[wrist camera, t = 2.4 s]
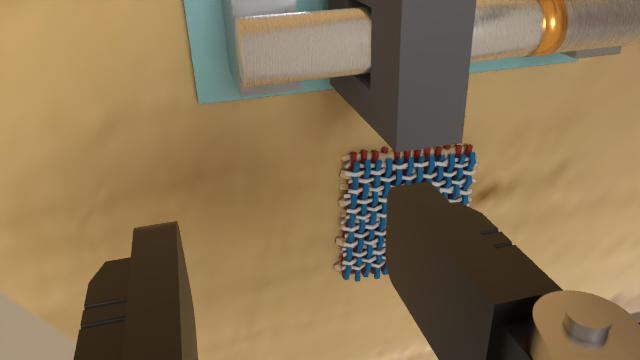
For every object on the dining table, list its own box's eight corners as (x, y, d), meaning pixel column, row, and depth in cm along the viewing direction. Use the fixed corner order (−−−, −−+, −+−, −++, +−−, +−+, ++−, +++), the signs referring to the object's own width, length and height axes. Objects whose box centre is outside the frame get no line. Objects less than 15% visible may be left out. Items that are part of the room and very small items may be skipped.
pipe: (229, 67, 30) (250, 117, 23) (218, -25, 28) (238, -2, 21) (558, 34, 35) (662, 67, 28) (572, -47, 33) (690, -35, 25)
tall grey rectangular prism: (330, 83, 30) (396, 152, 22) (326, -48, 27) (403, -29, 18) (378, 78, 31) (461, 143, 22) (381, -51, 28) (480, -34, 19)
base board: (197, 99, 32) (199, 105, 31) (173, -65, 28) (174, -64, 27) (568, 57, 37) (579, 61, 36) (595, -84, 33) (608, -84, 32)
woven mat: (472, 136, 39) (487, 147, 37) (450, 255, 44) (462, 269, 42) (338, 145, 36) (346, 156, 35) (330, 270, 41) (337, 286, 39)
